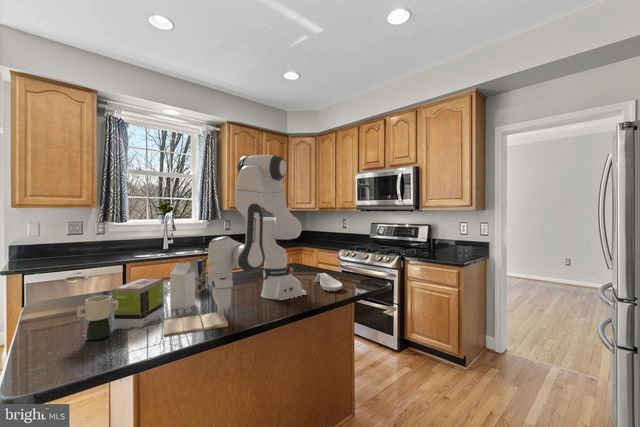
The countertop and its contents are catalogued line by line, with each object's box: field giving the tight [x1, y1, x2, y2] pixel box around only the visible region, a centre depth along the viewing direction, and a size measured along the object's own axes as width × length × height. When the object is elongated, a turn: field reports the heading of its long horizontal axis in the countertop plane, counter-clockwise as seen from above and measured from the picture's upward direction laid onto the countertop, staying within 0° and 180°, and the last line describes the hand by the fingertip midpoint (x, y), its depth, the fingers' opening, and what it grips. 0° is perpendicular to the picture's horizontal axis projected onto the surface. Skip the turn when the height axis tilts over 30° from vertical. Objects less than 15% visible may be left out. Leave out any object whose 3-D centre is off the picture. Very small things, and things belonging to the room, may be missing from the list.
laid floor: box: [163, 315, 203, 337], centre depth 107 cm, size 12×14×2 cm
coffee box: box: [187, 258, 207, 294], centre depth 158 cm, size 9×6×16 cm
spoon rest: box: [314, 272, 343, 292], centre depth 165 cm, size 24×12×7 cm, turn 25°
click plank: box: [199, 312, 229, 331], centre depth 111 cm, size 8×14×2 cm, turn 27°
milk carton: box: [169, 262, 196, 310], centre depth 130 cm, size 7×7×19 cm
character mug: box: [76, 295, 118, 341], centre depth 98 cm, size 11×7×13 cm, turn 135°
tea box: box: [113, 278, 165, 330], centre depth 113 cm, size 15×10×15 cm, turn 178°
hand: (220, 314), depth 116 cm, fingers closed, pressing on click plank
